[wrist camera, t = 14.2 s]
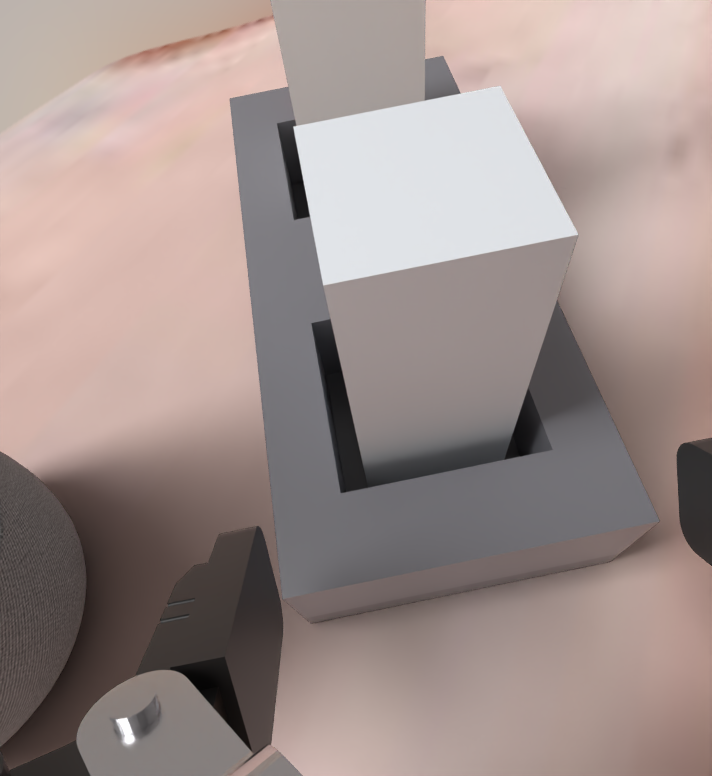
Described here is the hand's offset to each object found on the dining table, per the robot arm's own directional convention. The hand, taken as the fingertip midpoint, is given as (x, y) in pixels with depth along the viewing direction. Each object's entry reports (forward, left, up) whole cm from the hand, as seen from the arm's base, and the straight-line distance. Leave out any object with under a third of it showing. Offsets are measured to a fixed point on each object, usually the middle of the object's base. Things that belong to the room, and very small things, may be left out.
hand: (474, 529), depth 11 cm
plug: (0, -5, -6) cm, 8 cm away
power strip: (0, -10, -7) cm, 12 cm away
